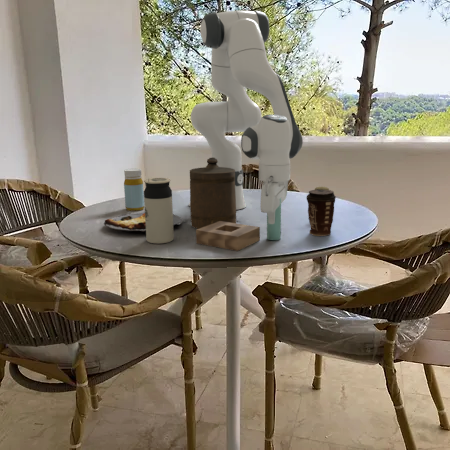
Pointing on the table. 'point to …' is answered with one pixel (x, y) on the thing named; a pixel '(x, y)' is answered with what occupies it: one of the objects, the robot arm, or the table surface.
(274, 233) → the peg
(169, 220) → the travel mug
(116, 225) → the food plate
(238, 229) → the socket block
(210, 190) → the wooden container
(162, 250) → the table surface
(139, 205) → the bottle
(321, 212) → the coffee cup
